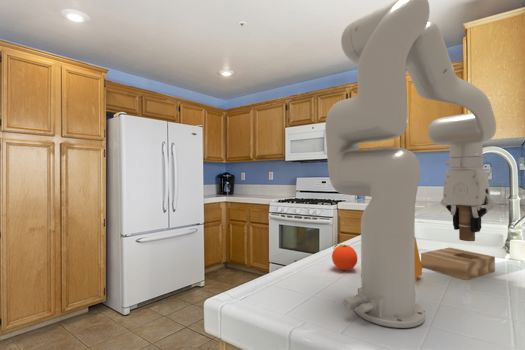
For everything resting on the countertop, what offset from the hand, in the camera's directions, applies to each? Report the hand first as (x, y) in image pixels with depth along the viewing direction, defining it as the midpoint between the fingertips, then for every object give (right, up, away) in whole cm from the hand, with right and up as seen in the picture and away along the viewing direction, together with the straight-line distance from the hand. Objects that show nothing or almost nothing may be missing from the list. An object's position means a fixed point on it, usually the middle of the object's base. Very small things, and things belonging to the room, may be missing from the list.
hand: (466, 229), depth 82 cm
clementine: (-34, -12, +1) cm, 36 cm away
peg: (0, -3, 0) cm, 3 cm away
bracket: (-22, -12, -6) cm, 26 cm away
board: (-2, -11, +1) cm, 11 cm away
